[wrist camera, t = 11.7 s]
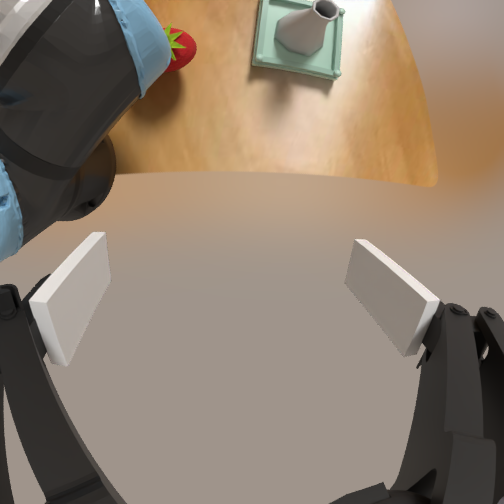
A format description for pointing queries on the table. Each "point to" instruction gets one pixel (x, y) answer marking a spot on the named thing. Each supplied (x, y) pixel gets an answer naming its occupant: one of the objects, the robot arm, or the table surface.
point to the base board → (278, 57)
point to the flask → (306, 27)
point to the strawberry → (179, 48)
